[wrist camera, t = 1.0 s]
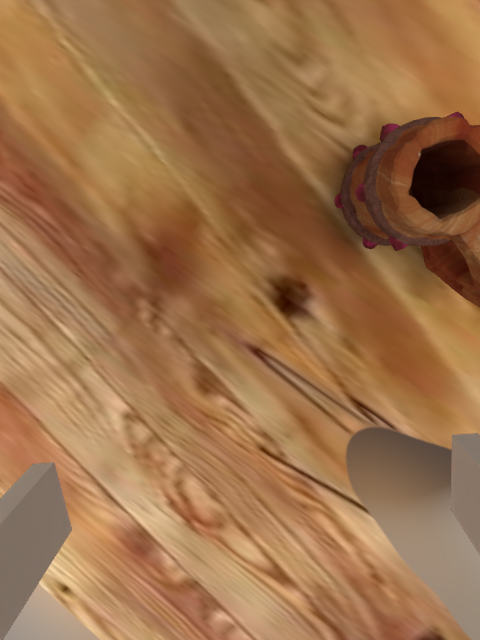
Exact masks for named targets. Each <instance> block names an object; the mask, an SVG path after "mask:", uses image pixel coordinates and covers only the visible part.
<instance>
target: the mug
mask: <svg viewBox="0 0 480 640" xmlns="http://www.w3.org/2000/svg"><path fill="white" fill-rule="evenodd" d="M380 140H381V143H378V144H376V145H374V146H372V147H369V148H368V147H367V146H365V145H359V146H357V147H356V148H355V149H354V150H353V159H354V162H353V163H352V164H351V166H350V167H349V169H348V171H347V173H346V175H345V176H344V180H343V183H342V188H341V193H340V194H338V195H337V196H336V197H335V205H336V207H338V208H341V209H342V211H343V213H344V216H345V218H346V220H347V222H348V223H349V225H350V226H351V228H352V229H353V230H354V231H355V232H356V233H357V234H358V235H360V236H361V237H362V238H363V245H364V247H365V248H368V249H373V248H375V247H376V246H377V244H379V245H391V246H392V247H393V248H394V249H395V251H397V250H401V249H404V248H405V247H407V246H408V245H415V246H421V248H422V251H423V255H424V262H425V265H426V268H427V269H429V270H430V271H432V272H433V273H435V274H436V275H437V276H438V277H440V278H441V279H442V280H443V281H444V282H445V283H446V284H448V285H449V286H450V287H451V288H452V289H454V290H455V291H456V292H457V293H459V294H460V295H461V296H463V297H464V298H465V299H467V300H469V301H470V302H472V303H473V304H475V305H477V306H478V307H480V125H475V126H472V125H469V123H468V121H467V120H466V119H464V116H463V115H462V114H461V113H459V112H455V113H453V114H451V115H449V116H447V117H444V118H440V117H429V118H422V119H418V120H413V121H411V122H409V123H406V124H404V125H402V126H399V125H397V124H387V125H385V126H382V130H381V135H380Z"/></svg>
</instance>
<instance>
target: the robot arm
mask: <svg viewBox="0 0 480 640" xmlns="http://www.w3.org/2000/svg"><path fill="white" fill-rule="evenodd" d="M451 485H452V486H451V487H452V488H451V510H452V512H453V513H454V515H455V517H456V518H457V520H458V521H459V523H460V524H461V526H462V528H463V529H464V531H465V532H466V534H467V535H468V537H469V539H470V540H471V542H472V543H473V545H474V547H475V548H476V550H477V551H478V553H479V554H480V435H479V434H478V433H474V434H459V435H452V484H451ZM71 530H72V528H71V524H70V520H69V516H68V512H67V509H66V505H65V501H64V497H63V494H62V490H61V486H60V482H59V478H58V475H57V471H56V467H55V463H54V462H53V463H39V464H33V465H32V466H31V467H30V468H29V469H28V470H27V471H26V472H25V473H24V474H23V475H22V476H21V477H20V478H19V479H18V480H17V481H16V483H15V484H14V485H13V486H12V487H11V488H10V489H9V490H8V491H7V492H6V493H5V494H4V495H3V496H2V497H1V498H0V640H3V639H4V637H5V636H6V634H7V632H8V631H9V629H10V628H11V626H12V625H13V623H14V621H15V620H16V618H17V617H18V615H19V613H20V612H21V610H22V609H23V607H24V605H25V604H26V602H27V601H28V599H29V597H30V596H31V594H32V592H33V591H34V589H35V588H36V586H37V585H38V583H39V581H40V580H41V578H42V577H43V575H44V573H45V572H46V570H47V569H48V567H49V566H50V564H51V562H52V561H53V559H54V558H55V556H56V554H57V553H58V551H59V550H60V548H61V546H62V545H63V543H64V542H65V540H66V538H67V537H68V535H69V534H70V532H71Z"/></svg>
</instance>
